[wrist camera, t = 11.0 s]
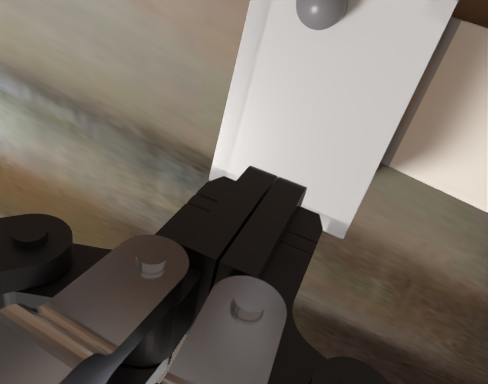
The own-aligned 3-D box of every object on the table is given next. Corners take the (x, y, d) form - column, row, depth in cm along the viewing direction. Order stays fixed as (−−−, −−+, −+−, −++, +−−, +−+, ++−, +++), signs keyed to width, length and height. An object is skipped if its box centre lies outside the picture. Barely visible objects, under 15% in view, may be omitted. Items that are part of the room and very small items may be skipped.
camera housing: (316, -70, 29) (262, -88, 20) (460, -28, 27) (473, -27, 18) (251, 157, 39) (194, 214, 30) (353, 200, 37) (326, 276, 28)
